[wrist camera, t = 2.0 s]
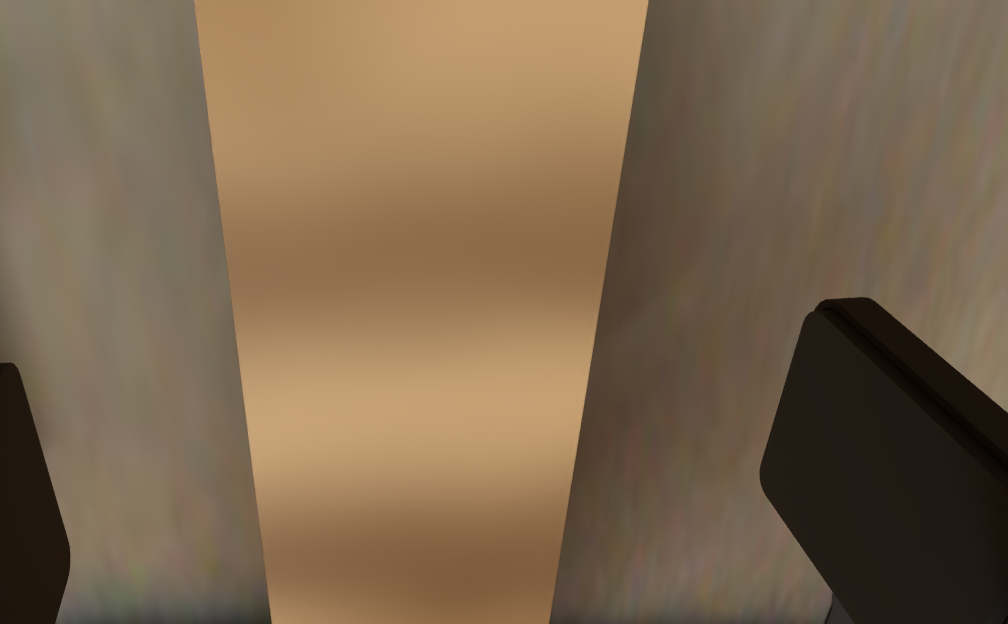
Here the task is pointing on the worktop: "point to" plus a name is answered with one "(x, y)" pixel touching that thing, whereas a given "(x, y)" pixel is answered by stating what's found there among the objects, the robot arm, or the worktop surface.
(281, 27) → the wooden block
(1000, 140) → the worktop surface
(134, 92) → the worktop surface
